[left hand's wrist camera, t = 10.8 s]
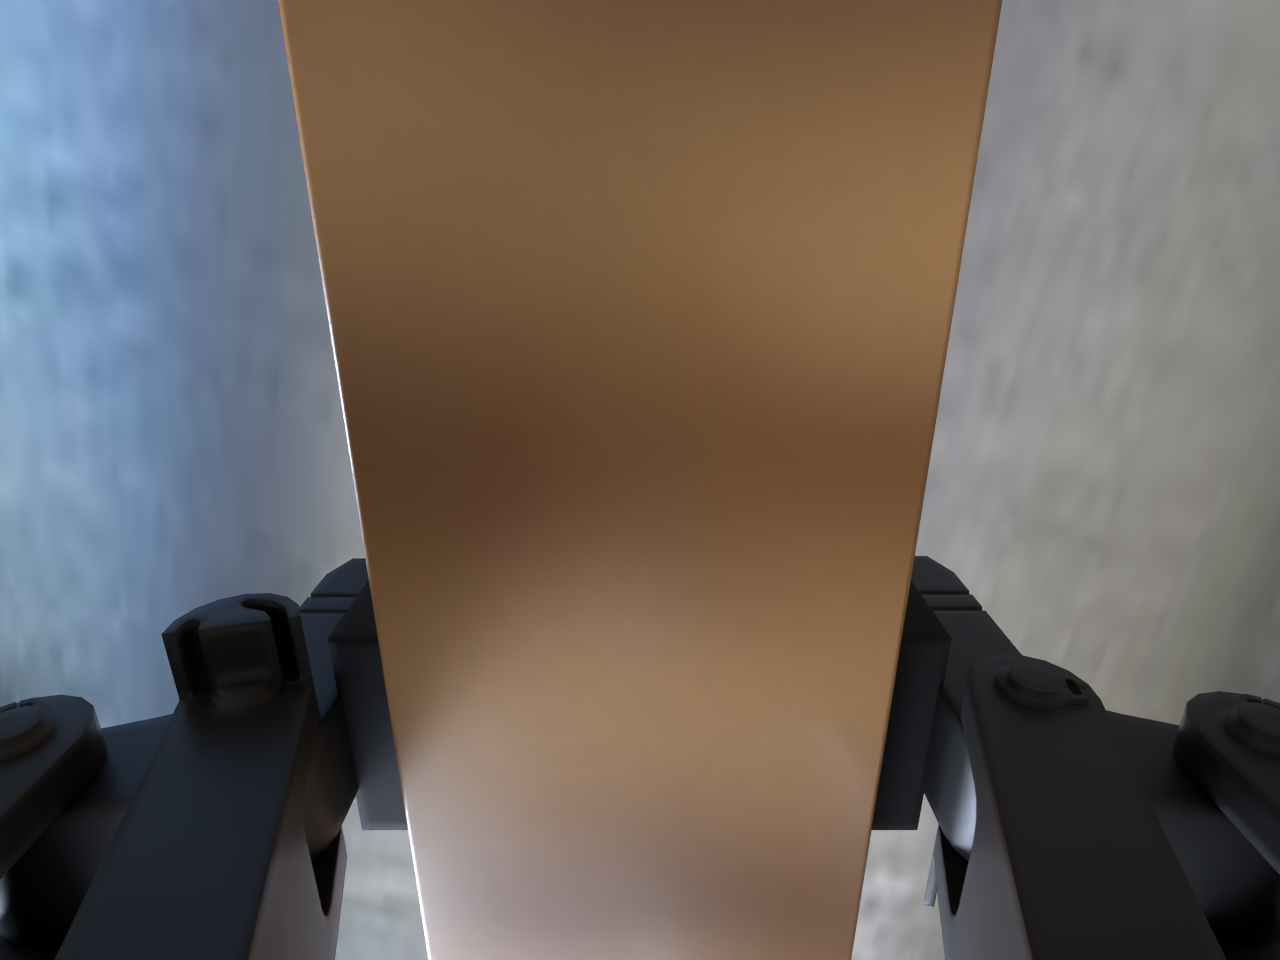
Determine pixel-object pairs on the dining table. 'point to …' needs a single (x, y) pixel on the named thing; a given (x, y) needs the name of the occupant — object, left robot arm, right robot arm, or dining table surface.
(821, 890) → the beam
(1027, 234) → the dining table surface
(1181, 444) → the dining table surface
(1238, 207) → the dining table surface
